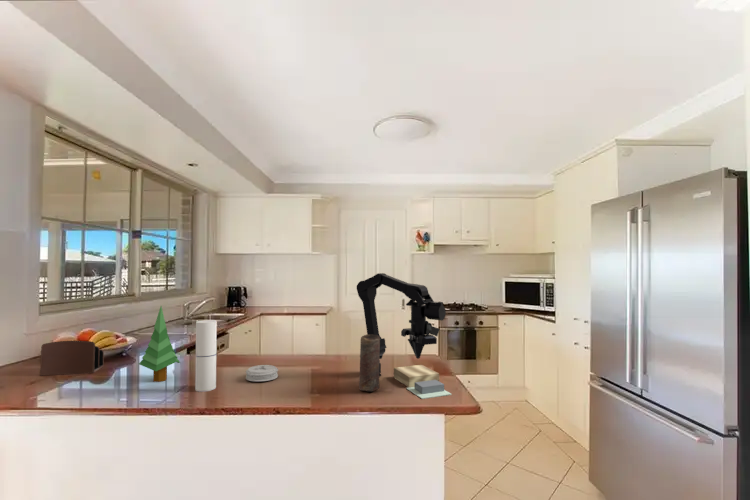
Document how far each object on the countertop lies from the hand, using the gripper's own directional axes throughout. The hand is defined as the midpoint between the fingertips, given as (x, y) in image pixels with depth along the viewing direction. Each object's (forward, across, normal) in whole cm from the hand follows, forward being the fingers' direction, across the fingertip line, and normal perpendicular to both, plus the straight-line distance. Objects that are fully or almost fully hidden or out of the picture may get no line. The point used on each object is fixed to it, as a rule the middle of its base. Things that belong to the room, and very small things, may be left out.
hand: (417, 358), depth 156 cm
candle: (+10, 0, +20) cm, 22 cm away
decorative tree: (+11, +43, +93) cm, 103 cm away
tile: (+7, -8, 0) cm, 11 cm away
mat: (+10, -9, 0) cm, 13 cm away
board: (+10, +5, -2) cm, 11 cm away
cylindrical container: (+11, +25, +76) cm, 81 cm away
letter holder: (+12, +71, +130) cm, 148 cm away
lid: (+11, +30, +55) cm, 64 cm away
